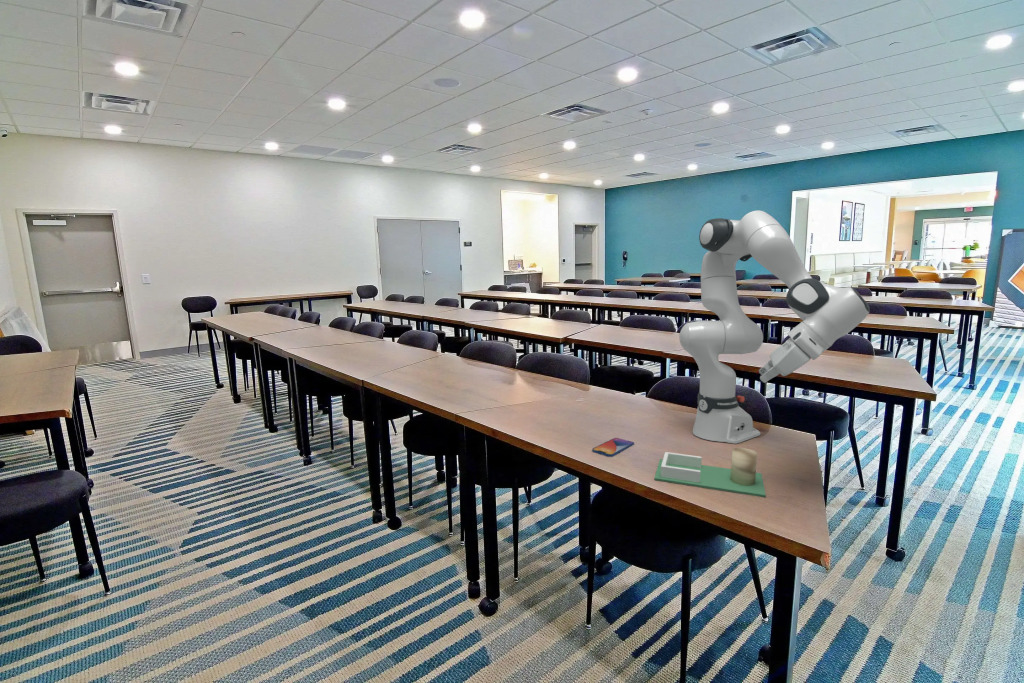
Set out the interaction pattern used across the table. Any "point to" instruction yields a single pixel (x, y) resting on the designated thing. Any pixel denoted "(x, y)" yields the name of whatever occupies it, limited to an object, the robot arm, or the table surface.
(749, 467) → the maple canister
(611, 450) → the smartphone
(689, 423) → the table surface
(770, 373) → the robot arm
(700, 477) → the putting green
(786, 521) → the table surface
